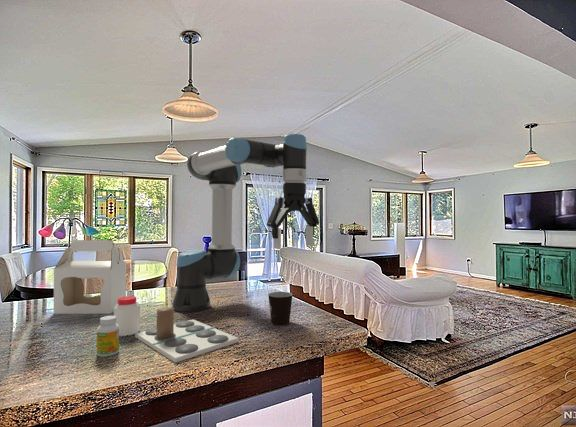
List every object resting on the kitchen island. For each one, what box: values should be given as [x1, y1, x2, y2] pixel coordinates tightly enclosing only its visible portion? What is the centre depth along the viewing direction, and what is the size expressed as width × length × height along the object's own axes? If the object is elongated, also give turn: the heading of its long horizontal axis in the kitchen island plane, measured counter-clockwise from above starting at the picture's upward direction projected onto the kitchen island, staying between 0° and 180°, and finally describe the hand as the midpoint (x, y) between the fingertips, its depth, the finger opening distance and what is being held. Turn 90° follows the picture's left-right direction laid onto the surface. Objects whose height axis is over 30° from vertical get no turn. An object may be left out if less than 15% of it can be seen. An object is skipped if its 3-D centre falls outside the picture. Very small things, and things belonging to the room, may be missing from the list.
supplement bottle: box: [96, 315, 120, 358], centre depth 92 cm, size 5×5×10 cm
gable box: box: [53, 239, 127, 315], centre depth 135 cm, size 22×13×28 cm, turn 92°
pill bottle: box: [113, 295, 141, 337], centre depth 109 cm, size 8×8×11 cm
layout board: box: [134, 306, 239, 363], centre depth 102 cm, size 26×20×10 cm
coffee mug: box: [267, 291, 293, 327], centre depth 120 cm, size 12×9×10 cm
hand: (294, 247), depth 110 cm, fingers open, 13 cm apart
